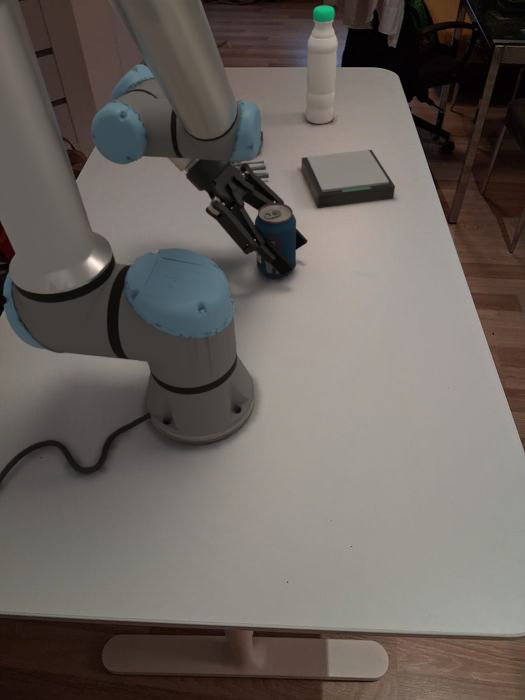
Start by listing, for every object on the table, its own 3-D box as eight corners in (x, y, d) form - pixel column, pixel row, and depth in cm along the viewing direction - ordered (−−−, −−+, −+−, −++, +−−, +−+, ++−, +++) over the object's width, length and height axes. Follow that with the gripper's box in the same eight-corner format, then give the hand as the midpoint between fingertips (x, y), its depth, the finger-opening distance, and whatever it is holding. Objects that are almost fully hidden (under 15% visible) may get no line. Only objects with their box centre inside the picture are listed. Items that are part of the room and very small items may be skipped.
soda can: (286, 254, 100) (285, 196, 91) (302, 275, 96) (303, 217, 87) (251, 263, 98) (247, 206, 90) (266, 286, 94) (263, 228, 85)
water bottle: (300, 119, 138) (301, 8, 120) (319, 110, 141) (323, 0, 123) (319, 127, 135) (324, 14, 116) (339, 118, 138) (346, 7, 119)
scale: (317, 207, 110) (318, 193, 108) (301, 169, 121) (301, 155, 119) (393, 198, 112) (395, 183, 109) (370, 161, 122) (371, 147, 120)
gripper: (211, 142, 95) (298, 235, 102) (158, 201, 82) (261, 302, 90) (237, 116, 90) (326, 216, 97) (184, 175, 77) (291, 284, 85)
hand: (295, 257), depth 94 cm, fingers closed on soda can, 7 cm apart
